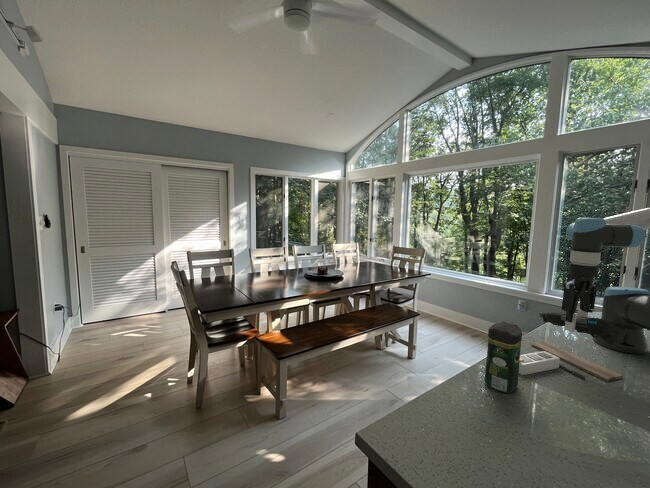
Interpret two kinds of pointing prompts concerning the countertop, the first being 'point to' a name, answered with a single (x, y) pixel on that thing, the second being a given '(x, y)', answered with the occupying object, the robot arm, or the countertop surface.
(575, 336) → the countertop surface
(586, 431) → the countertop surface
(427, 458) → the countertop surface
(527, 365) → the power strip
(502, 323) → the coffee jar
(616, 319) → the robot arm
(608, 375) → the walnut board
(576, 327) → the gun
